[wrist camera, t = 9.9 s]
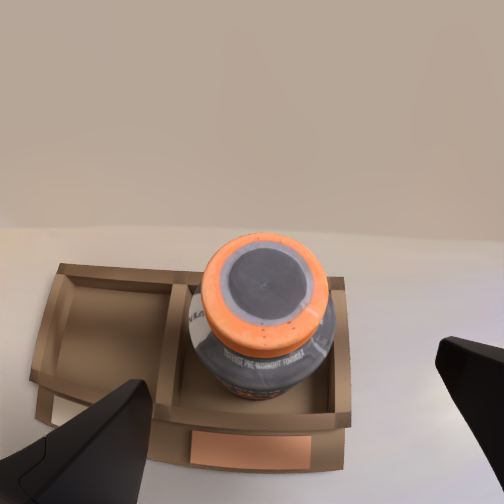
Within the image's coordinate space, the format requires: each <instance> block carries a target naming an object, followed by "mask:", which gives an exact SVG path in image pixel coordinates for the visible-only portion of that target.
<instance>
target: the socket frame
mask: <svg viewBox="0 0 504 504" xmlns="http://www.w3.org/2000/svg"><path fill="white" fill-rule="evenodd" d="M203 274H204V272H189V271H170V270H152V269H135V268H120V267H105V266H90V265H77V264H64V263H60V265H59V267H58V270H57V273H56V276H55V279H54V282H53V285H52V288H51V291H50V294H49V298H48V301H47V304H46V308H45V311H44V315H43V318H42V322H41V326H40V330H39V334H38V338H37V343H36V347H35V352H34V357H33V362H32V367H31V373H30V379H29V381H32V382H34V383H37V384H39V390H38V398H37V406H36V415H35V419H37V420H39V421H41V422H43V423H45V424H47V425H50V426H52V427H54V428H58V427H59V426H61V425H62V424H64V423H66V422H67V421H69V420H70V419H72V418H73V417H75V416H76V415H78V414H79V413H81V412H82V411H84V410H85V409H87V408H88V407H90V406H91V405H93V404H94V403H96V402H97V401H99V400H100V399H102V398H103V397H105V396H106V395H108V394H109V393H111V392H112V391H113V390H115V389H116V388H118V387H119V386H121V385H122V384H124V383H125V382H127V381H128V380H130V379H143V380H145V382H146V384H147V386H148V389H149V392H150V395H151V398H152V402H153V412H152V420H151V429H150V438H149V447H148V453H147V459H152V460H156V461H161V462H166V463H171V464H176V465H182V466H188V467H195V468H202V469H210V470H219V471H230V472H244V473H310V472H324V471H335V470H343V464H344V441H345V428H349V427H351V368H350V347H349V331H348V317H347V305H346V294H345V285H344V277H326V278H327V282H328V290H329V292H330V294H331V297H332V299H333V303H334V306H335V311H336V331H335V336H334V340H333V343H332V346H331V348H330V350H329V353H328V354H327V356H326V357H325V359H324V361H323V362H322V363H321V365H320V366H319V367H318V368H317V369H316V370H315V371H314V372H313V373H312V374H311V375H310V376H308V377H307V378H306V379H305V380H303V381H301V382H300V383H299V384H297V385H296V386H294V387H293V388H291V389H290V390H288V391H287V392H286V393H284V394H282V395H280V396H278V397H275V398H273V399H269V400H264V401H252V400H247V399H244V398H242V397H239V396H237V395H235V394H233V393H232V392H230V391H229V390H228V389H227V388H226V387H225V386H224V385H223V384H222V383H221V382H220V381H219V380H218V379H217V378H216V377H215V375H214V374H213V373H212V372H211V371H210V370H209V369H208V368H207V367H206V366H205V364H204V363H203V362H202V361H201V359H200V358H199V356H198V354H197V353H196V351H195V348H194V346H193V343H192V340H191V336H190V331H189V309H190V305H191V301H192V297H193V295H194V293H195V291H196V289H197V287H198V285H199V284H200V282H201V281H202V276H203Z"/></svg>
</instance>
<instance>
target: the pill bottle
mask: <svg viewBox="0 0 504 504" xmlns="http://www.w3.org/2000/svg"><path fill="white" fill-rule="evenodd" d="M189 331H190V336H191V340H192V343H193V346H194V348H195V351H196V353H197V354H198V356H199V358H200V359H201V361H202V362H203V363H204V364H205V366H206V367H207V368H208V369H209V370H210V371H211V372H212V373H213V374H214V375H215V377H216V378H217V379H218V380H219V381H220V382H221V383H222V384H223V385H224V386H225V387H226V388H227V389H228V390H229V391H230V392H232V393H233V394H235V395H237V396H239V397H242V398H244V399H247V400H252V401H264V400H269V399H273V398H275V397H278V396H280V395H282V394H284V393H286V392H287V391H288V390H290V389H291V388H293V387H294V386H296V385H297V384H299V383H300V382H301V381H303V380H305V379H306V378H307V377H308V376H310V375H311V374H312V373H313V372H314V371H315V370H316V369H317V368H318V367H319V366H320V365H321V363H322V362H323V361H324V359H325V357H326V356H327V354H328V353H329V350H330V348H331V346H332V343H333V340H334V336H335V331H336V311H335V306H334V303H333V299H332V297H331V294H330V292H329V290H328V282H327V278H326V274H325V272H324V270H323V267H322V266H321V264H320V263H319V261H318V260H317V258H316V257H315V255H314V254H313V253H312V252H311V251H310V250H308V249H307V248H306V247H305V246H304V245H302V244H301V243H299V242H297V241H295V240H293V239H291V238H288V237H286V236H282V235H278V234H272V233H255V234H249V235H245V236H242V237H239V238H237V239H235V240H232V241H230V242H229V243H227V244H226V245H224V246H223V247H222V248H220V249H219V250H218V251H217V252H216V253H215V254H214V255H213V257H212V258H211V260H210V261H209V263H208V265H207V267H206V269H205V271H204V274H203V276H202V281H201V282H200V284H199V285H198V287H197V289H196V291H195V293H194V295H193V297H192V301H191V305H190V309H189Z"/></svg>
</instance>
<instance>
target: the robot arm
mask: <svg viewBox="0 0 504 504" xmlns="http://www.w3.org/2000/svg"><path fill="white" fill-rule="evenodd" d="M435 365H436V368H437V370H438V372H439V374H440V376H441V378H442V380H443V382H444V384H445V386H446V388H447V390H448V392H449V394H450V396H451V398H452V399H453V401H454V403H455V405H456V406H457V408H458V409H459V411H460V413H461V414H462V416H463V418H464V419H465V421H466V423H467V424H468V426H469V428H470V429H471V431H472V433H473V434H474V436H475V438H476V440H477V441H478V443H479V445H480V447H481V448H482V450H483V452H484V454H485V456H486V458H487V459H488V461H489V463H490V465H491V467H492V469H493V471H494V473H495V475H496V477H497V479H498V481H499V483H500V485H501V487H502V489H503V492H504V349H503V348H499V347H494V346H490V345H486V344H482V343H478V342H474V341H469V340H465V339H461V338H457V337H453V336H450V337H447V338H443V339H442V340H441V341H440V343H439V347H438V351H437V355H436V359H435ZM152 412H153V402H152V398H151V395H150V392H149V389H148V386H147V384H146V382H145V380H143V379H130V380H128V381H127V382H125V383H124V384H122V385H121V386H119V387H118V388H116V389H115V390H113V391H112V392H111V393H109V394H108V395H106V396H105V397H103V398H102V399H100V400H99V401H97V402H96V403H94V404H93V405H91V406H90V407H88V408H87V409H85V410H84V411H82V412H81V413H79V414H78V415H76V416H75V417H73V418H72V419H70V420H69V421H67V422H66V423H64V424H62V425H61V426H59V427H58V428H56V429H55V430H53V431H52V432H50V433H48V434H47V435H46V437H45V436H44V437H42V438H41V439H39V440H37V441H36V442H34V443H32V444H31V445H29V446H27V447H26V448H24V449H22V450H20V451H18V452H16V453H14V454H12V455H10V456H8V457H6V458H4V459H2V460H0V504H137V499H138V494H139V489H140V485H141V480H142V476H143V471H144V467H145V462H146V458H147V453H148V447H149V438H150V429H151V420H152Z"/></svg>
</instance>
